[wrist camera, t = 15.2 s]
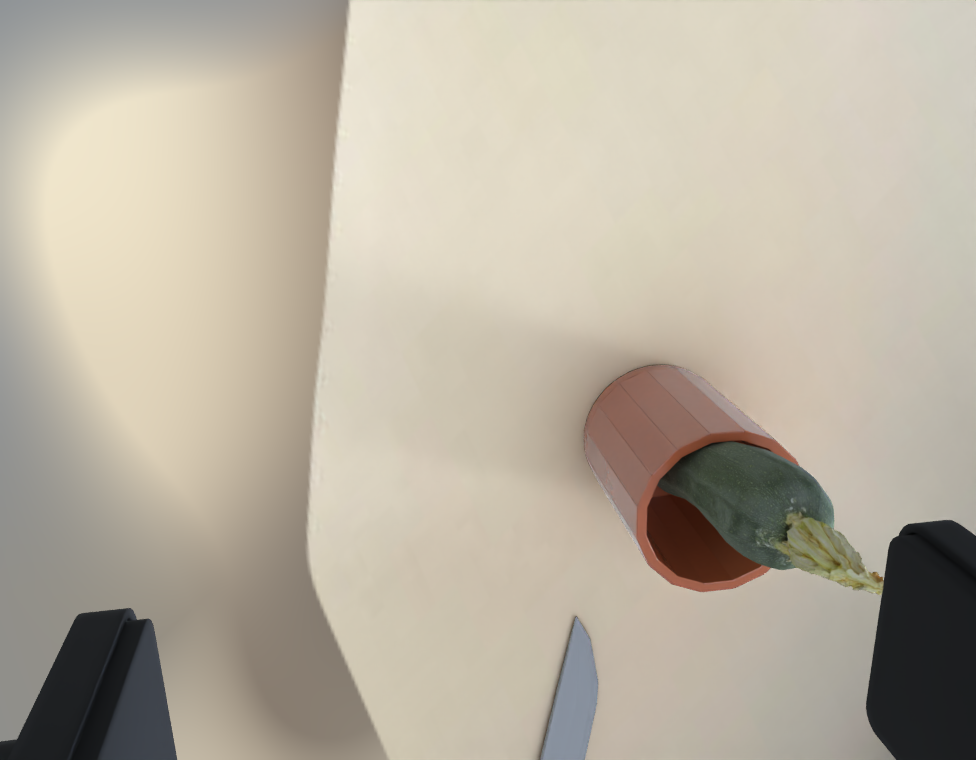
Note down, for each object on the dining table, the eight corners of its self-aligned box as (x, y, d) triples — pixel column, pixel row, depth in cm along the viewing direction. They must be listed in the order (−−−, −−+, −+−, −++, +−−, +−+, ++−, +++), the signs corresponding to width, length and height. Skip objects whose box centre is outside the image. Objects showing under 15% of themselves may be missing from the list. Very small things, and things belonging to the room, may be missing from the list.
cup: (583, 504, 51) (634, 600, 41) (583, 370, 48) (638, 440, 39) (718, 491, 52) (799, 581, 42) (726, 358, 49) (813, 424, 40)
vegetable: (602, 434, 49) (779, 566, 29) (661, 382, 49) (876, 480, 29) (650, 490, 50) (851, 655, 30) (707, 440, 50) (945, 571, 30)
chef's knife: (620, 615, 54) (574, 613, 53) (627, 626, 53) (580, 624, 52) (555, 861, 59) (512, 862, 58) (560, 875, 58) (516, 876, 57)
